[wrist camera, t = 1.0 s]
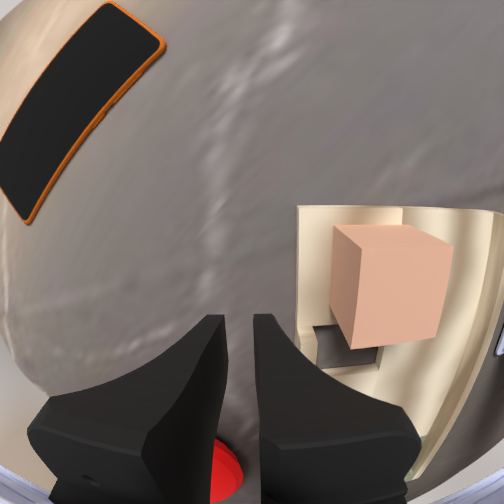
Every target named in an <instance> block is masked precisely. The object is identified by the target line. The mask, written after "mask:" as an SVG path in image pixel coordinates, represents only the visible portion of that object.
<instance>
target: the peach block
mask: <svg viewBox="0 0 504 504" xmlns="http://www.w3.org/2000/svg"><path fill="white" fill-rule="evenodd" d="M453 249H454V246H453V245H451V244H449V243H447V242H444V241H442V240H440V239H438V238H436V237H434V236H432V235H430V234H428V233H426V232H423V231H421V230H419V229H417V228H415V227H413V226H410V225H333V248H332V269H331V286H330V300H329V305H330V307H331V309H332V311H333V313H334V315H335V317H336V320H337V322H338V324H339V326H340V328H341V330H342V332H343V334H344V336H345V339H346V341H347V343H348V345H349V347H350V349H359V348H368V347H376V346H384V345H391V344H398V343H405V342H411V341H417V340H423V339H429V338H434V337H436V333H437V329H438V326H439V322H440V318H441V314H442V309H443V305H444V300H445V296H446V291H447V286H448V280H449V275H450V269H451V263H452V256H453Z"/></svg>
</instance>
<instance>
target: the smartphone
mask: <svg viewBox="0 0 504 504" xmlns="http://www.w3.org/2000/svg"><path fill="white" fill-rule="evenodd" d="M165 48H166V42H165V41H164V39H162V38H161V37H160V36H159V35H157V34H156V33H155V32H154V31H152V30H151V29H150V28H148V27H147V26H146V25H145V24H143V23H142V22H141V21H139V20H138V19H137V18H135V17H134V16H133V15H131V14H130V13H129V12H127V11H126V10H124V9H123V8H122V7H120V6H119V5H117V4H116V3H115V2H113V1H107V2H105V3H103V4H102V5H101V6H100V7H99V8H98V9H97V10H96V11H95V12H94V13H93V14H92V15H91V16H90V17H89V18H88V19H87V20H86V21H85V22H84V23H83V24H82V25H81V26H80V27H79V28H78V29H77V31H76V32H75V33H74V34H73V35H72V36H71V37H70V38H69V40H68V41H67V42H66V43H65V44H64V45H63V47H62V48H61V49H60V50H59V51H58V53H57V54H56V55H55V56H54V58H53V59H52V60H51V61H50V63H49V64H48V65H47V67H46V68H45V69H44V71H43V72H42V73H41V75H40V76H39V78H38V79H37V80H36V82H35V83H34V85H33V86H32V88H31V89H30V91H29V92H28V94H27V95H26V97H25V98H24V100H23V102H22V103H21V105H20V106H19V108H18V110H17V111H16V113H15V115H14V116H13V118H12V120H11V122H10V123H9V125H8V127H7V129H6V131H5V133H4V134H3V136H2V138H1V140H0V189H1V190H2V192H3V193H4V195H5V197H6V198H7V200H8V201H9V203H10V204H11V205H12V207H13V208H14V210H15V211H16V213H17V214H18V215H19V217H20V218H21V220H22V221H23V222H24V223H26V224H29V223H31V221H32V220H33V218H34V216H35V214H36V212H37V211H38V209H39V207H40V205H41V204H42V202H43V200H44V198H45V197H46V195H47V193H48V192H49V190H50V188H51V187H52V185H53V184H54V182H55V180H56V179H57V177H58V176H59V174H60V173H61V171H62V170H63V168H64V167H65V165H66V164H67V162H68V161H69V159H70V158H71V156H72V155H73V154H74V152H75V151H76V149H77V148H78V147H79V145H80V144H81V143H82V141H83V140H84V139H85V137H86V136H87V135H88V133H89V132H90V131H91V129H92V128H95V127H96V126H97V124H98V123H99V122H100V121H101V119H102V118H103V117H104V116H105V115H106V114H105V112H106V111H107V110H108V109H109V108H110V106H111V105H112V104H115V103H116V102H117V101H118V100H119V98H120V97H121V96H122V95H123V94H124V93H125V92H126V91H127V90H128V89H129V87H130V86H131V85H132V84H133V83H134V82H135V81H136V80H137V79H138V78H139V77H140V76H141V75H142V74H143V71H144V70H145V69H146V68H147V67H148V66H149V65H150V64H151V63H152V62H153V61H154V60H155V59H156V58H157V57H158V56H159V55H160V54H162V53H163V51H164V50H165Z"/></svg>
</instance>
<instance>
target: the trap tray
mask: <svg viewBox="0 0 504 504" xmlns="http://www.w3.org/2000/svg"><path fill="white" fill-rule="evenodd" d="M333 225H410V226H413V227H415V228H417V229H419V230H421V231H423V232H426V233H428V234H430V235H432V236H434V237H436V238H438V239H440V240H442V241H444V242H447V243H449V244H451V245H453V246H454V249H453V256H452V263H451V269H450V275H449V280H448V286H447V291H446V296H445V300H444V305H443V309H442V314H441V318H440V322H439V326H438V329H437V333H436V337H434V338H429V339H423V340H417V341H411V342H405V343H398V344H391V345H384V346H378V351H377V356H376V360H375V363H372V364H365V365H357V366H348V367H339V368H328V369H321V370H322V371H324V372H325V373H327V374H328V375H330V376H331V377H333V378H334V379H336V380H338V381H339V382H341V383H343V384H345V385H346V386H348V387H350V388H352V389H354V390H357V391H359V392H361V393H363V394H365V395H368V396H370V397H373V398H376V399H379V400H382V401H385V402H388V403H391V404H394V405H397V406H400V407H402V408H403V409H404V411H405V412H406V414H407V415H408V417H409V418H410V420H411V421H412V423H413V425H414V426H415V428H416V430H417V432H418V434H419V436H420V438H421V441H422V449H421V451H420V454H419V456H418V458H417V460H416V461H415V463H414V464H413V466H412V467H411V469H410V470H409V472H408V473H407V475H406V476H405V478H404V480H405V482H407V481H410V480H413V479H416V478H419V477H420V475H421V474H422V473H423V471H424V470H425V468H426V467H427V466H428V464H429V463H430V461H431V460H432V458H433V457H434V455H435V454H436V452H437V451H438V449H439V447H440V446H441V444H442V443H443V441H444V439H445V438H446V436H447V434H448V433H449V431H450V429H451V427H452V426H453V424H454V422H455V420H456V418H457V417H458V415H459V413H460V411H461V409H462V407H463V405H464V403H465V401H466V399H467V397H468V395H469V393H470V391H471V389H472V386H473V384H474V382H475V380H476V378H477V375H478V373H479V371H480V368H481V366H482V363H483V361H484V358H485V356H486V353H487V350H488V348H489V345H490V342H491V339H492V336H493V333H494V330H495V327H496V324H497V321H498V318H499V314H500V311H501V307H502V304H503V300H504V214H502V213H499V212H496V211H488V210H473V209H456V208H436V207H409V206H361V205H307V206H297V259H296V309H295V338H294V345H295V346H296V347H297V348H298V349H299V350H300V351H301V352H302V353H303V354H304V355H305V356H306V357H307V358H308V359H309V360H310V361H311V362H312V363H313V364H314V365H316V356H317V346H318V342H317V339H316V336H315V333H314V330H313V327H312V326H321V325H336V324H338V322H337V320H336V317H335V315H334V313H333V311H332V309H331V307H330V305H329V300H330V286H331V269H332V248H333Z"/></svg>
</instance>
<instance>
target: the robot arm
mask: <svg viewBox="0 0 504 504" xmlns="http://www.w3.org/2000/svg"><path fill="white" fill-rule="evenodd" d="M253 329H254V355H255V382H256V391H257V400H258V408H259V417H260V430H259V440H260V471H261V504H407V503H406V500H405V497H404V495H406V493H407V491H408V488H407V486H406V483H405V480H404V478H405V476H406V475H407V473H408V472H409V470H410V469H411V467H412V466H413V464H414V463H415V461H416V460H417V458H418V456H419V454H420V451H421V449H422V441H421V438H420V436H419V434H418V432H417V430H416V428H415V426H414V425H413V423H412V421H411V420H410V418H409V417H408V415H407V414H406V412H405V411H404V409H403V408H402V407H400V406H397V405H394V404H391V403H388V402H385V401H382V400H379V399H376V398H373V397H370V396H368V395H365V394H363V393H361V392H359V391H357V390H354V389H352V388H350V387H348V386H346V385H345V384H343V383H341V382H339V381H338V380H336V379H334V378H333V377H331V376H330V375H328V374H327V373H325V372H324V371H322V370H321V369H320V368H318V367H317V366H316V365H314V364H313V363H312V362H311V361H310V360H309V359H308V358H307V357H306V356H305V355H304V354H303V353H302V352H301V351H300V350H299V349H298V348H297V347H296V346H295V345H294V344H293V343H292V341H291V340H290V339H289V338H288V337H287V335H286V334H285V333H284V331H283V330H282V328H281V327H280V325H279V324H278V322H277V321H276V319H275V317H274V316H273V315H272V314H254V318H253ZM495 353H496V354H497V355H500V354H503V353H504V328H503V331H502V334H501V337H500V340H499V343H498V346H497V348H496V351H495ZM227 374H228V351H227V340H226V329H225V318H224V315H206V316H205V317H204V318H203V319H202V320H201V321H200V322H199V323H198V324H197V325H196V326H194V327H193V328H192V329H191V330H190V331H189V332H188V333H187V334H186V335H185V336H183V337H182V338H181V339H180V340H179V341H178V342H176V343H175V344H174V345H172V346H171V347H170V348H169V349H167V350H166V351H165V352H163V353H162V354H161V355H159V356H158V357H156V358H155V359H153V360H152V361H150V362H148V363H147V364H145V365H143V366H141V367H140V368H138V369H136V370H134V371H132V372H130V373H127V374H125V375H123V376H121V377H119V378H117V379H115V380H112V381H109V382H107V383H104V384H101V385H98V386H95V387H92V388H89V389H85V390H82V391H77V392H73V393H68V394H63V395H59V396H53V397H50V398H49V399H48V401H47V402H46V404H45V405H44V406H43V407H42V409H41V410H40V412H39V413H38V414H37V416H36V417H35V418H34V420H33V421H32V423H31V424H30V425H29V427H28V428H27V436H28V439H29V441H30V444H31V446H32V447H33V449H34V450H35V452H36V453H37V454H38V456H39V457H40V458H41V460H42V461H43V462H44V463H45V464H46V466H47V467H48V468H49V469H50V470H51V472H52V473H53V474H54V475H55V476H56V477H57V478H58V479H57V481H56V484H55V485H54V487H53V489H52V491H51V492H50V491H48V490H46V489H44V488H42V487H40V486H38V485H36V484H34V483H32V482H30V481H28V480H26V479H24V478H22V477H20V476H19V475H17V474H15V473H13V472H12V471H10V470H8V469H7V468H5V467H3V466H2V465H0V504H210V493H211V477H212V464H213V453H214V442H215V436H216V430H217V426H218V421H219V417H220V412H221V408H222V403H223V398H224V394H225V389H226V384H227ZM430 504H504V467H503V468H502V469H500V470H498V471H497V472H495V473H493V474H491V475H490V476H488V477H486V478H484V479H483V480H481V481H479V482H477V483H475V484H473V485H471V486H469V487H467V488H465V489H463V490H461V491H458V492H456V493H454V494H452V495H450V496H447V497H445V498H443V499H440V500H438V501H435V502H433V503H430Z"/></svg>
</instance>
